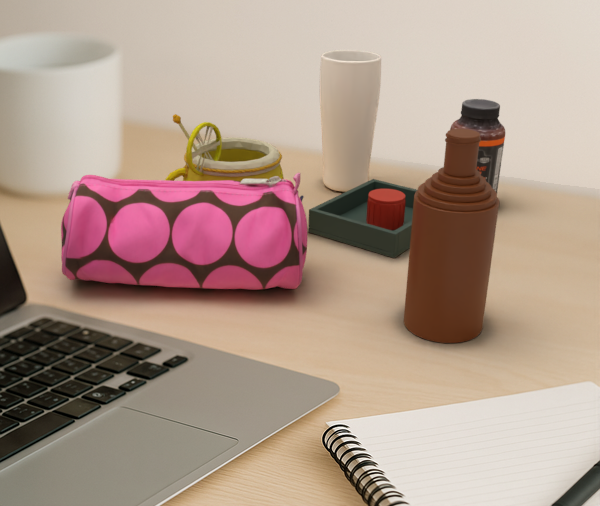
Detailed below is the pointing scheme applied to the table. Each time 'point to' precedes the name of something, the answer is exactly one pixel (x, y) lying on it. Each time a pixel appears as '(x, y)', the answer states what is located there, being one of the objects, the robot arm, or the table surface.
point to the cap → (386, 208)
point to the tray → (362, 220)
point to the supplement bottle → (485, 135)
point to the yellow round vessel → (226, 157)
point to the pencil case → (185, 233)
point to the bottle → (451, 246)
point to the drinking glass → (348, 115)
